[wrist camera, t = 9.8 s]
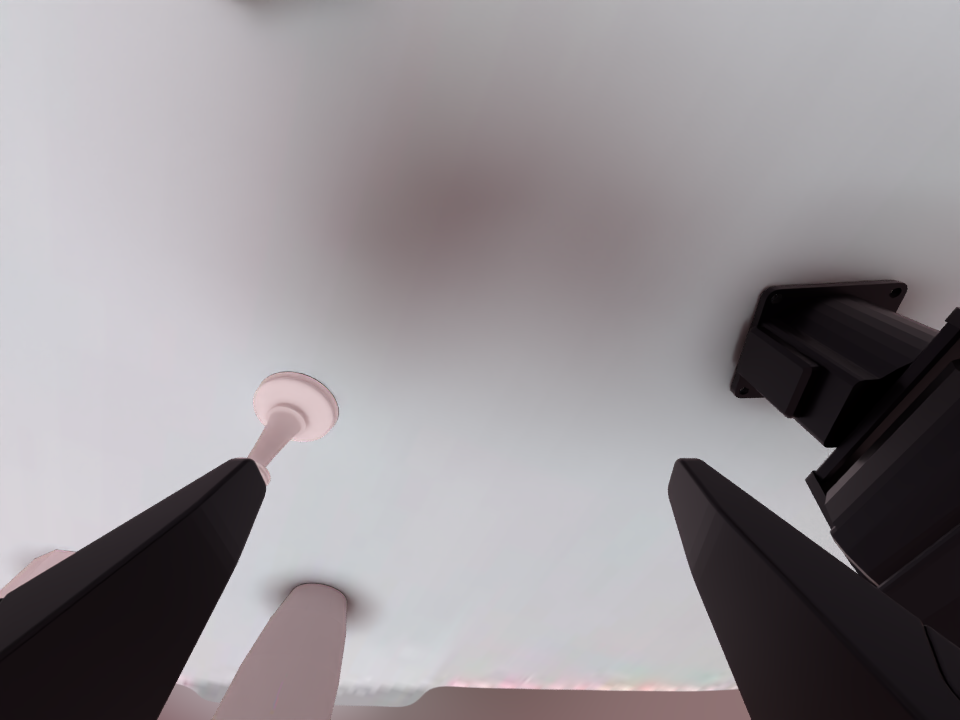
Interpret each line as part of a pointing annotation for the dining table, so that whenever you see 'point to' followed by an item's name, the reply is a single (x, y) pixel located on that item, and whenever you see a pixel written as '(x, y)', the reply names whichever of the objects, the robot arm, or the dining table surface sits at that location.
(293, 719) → the cup
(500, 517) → the dining table surface
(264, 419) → the chess piece
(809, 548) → the robot arm
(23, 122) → the dining table surface
